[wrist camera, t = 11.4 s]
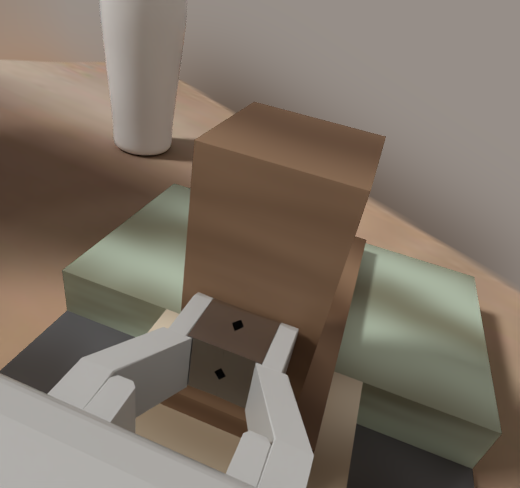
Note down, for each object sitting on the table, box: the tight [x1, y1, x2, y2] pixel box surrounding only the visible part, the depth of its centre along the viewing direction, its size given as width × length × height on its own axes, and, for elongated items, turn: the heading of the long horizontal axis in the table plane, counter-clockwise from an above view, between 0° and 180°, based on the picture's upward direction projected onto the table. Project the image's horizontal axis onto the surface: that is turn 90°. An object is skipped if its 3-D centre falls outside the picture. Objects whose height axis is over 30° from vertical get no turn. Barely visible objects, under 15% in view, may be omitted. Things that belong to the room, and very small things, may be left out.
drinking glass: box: [99, 0, 187, 155], centre depth 36 cm, size 7×7×15 cm
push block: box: [160, 102, 386, 453], centre depth 17 cm, size 14×6×10 cm, turn 161°
